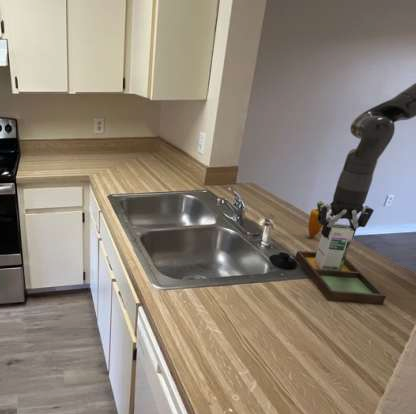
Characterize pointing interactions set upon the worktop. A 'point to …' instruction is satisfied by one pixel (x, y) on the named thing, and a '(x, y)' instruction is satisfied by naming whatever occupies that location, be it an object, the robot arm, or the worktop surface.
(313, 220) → the carrot
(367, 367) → the worktop surface
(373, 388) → the worktop surface
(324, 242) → the syrup box
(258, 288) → the worktop surface
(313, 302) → the worktop surface
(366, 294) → the sorting tray
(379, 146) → the robot arm
